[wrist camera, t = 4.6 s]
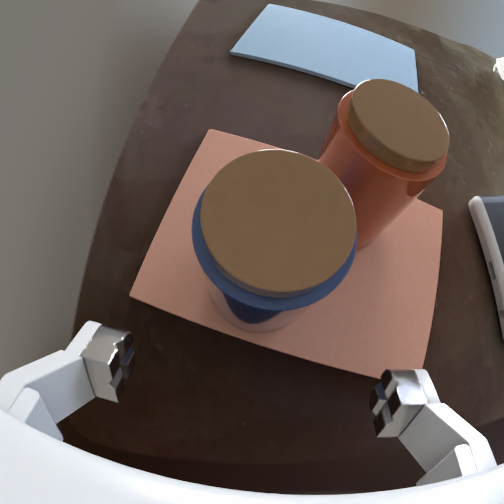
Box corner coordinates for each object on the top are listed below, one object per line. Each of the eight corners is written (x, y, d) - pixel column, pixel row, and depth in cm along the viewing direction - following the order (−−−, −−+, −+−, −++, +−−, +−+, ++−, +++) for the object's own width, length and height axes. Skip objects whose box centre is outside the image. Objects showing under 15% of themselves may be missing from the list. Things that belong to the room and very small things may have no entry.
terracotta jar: (292, 233, 21) (333, 134, 11) (313, 163, 23) (350, 59, 13) (374, 262, 20) (460, 190, 11) (385, 191, 22) (451, 104, 13)
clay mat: (131, 297, 19) (128, 295, 19) (209, 132, 24) (209, 128, 23) (414, 386, 18) (417, 387, 18) (440, 213, 23) (443, 210, 22)
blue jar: (196, 313, 19) (157, 266, 9) (229, 227, 21) (226, 122, 11) (290, 346, 18) (346, 330, 9) (317, 256, 20) (378, 171, 11)
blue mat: (230, 55, 28) (230, 51, 27) (268, 6, 32) (269, 3, 32) (417, 115, 27) (419, 112, 26) (412, 52, 31) (414, 49, 31)
